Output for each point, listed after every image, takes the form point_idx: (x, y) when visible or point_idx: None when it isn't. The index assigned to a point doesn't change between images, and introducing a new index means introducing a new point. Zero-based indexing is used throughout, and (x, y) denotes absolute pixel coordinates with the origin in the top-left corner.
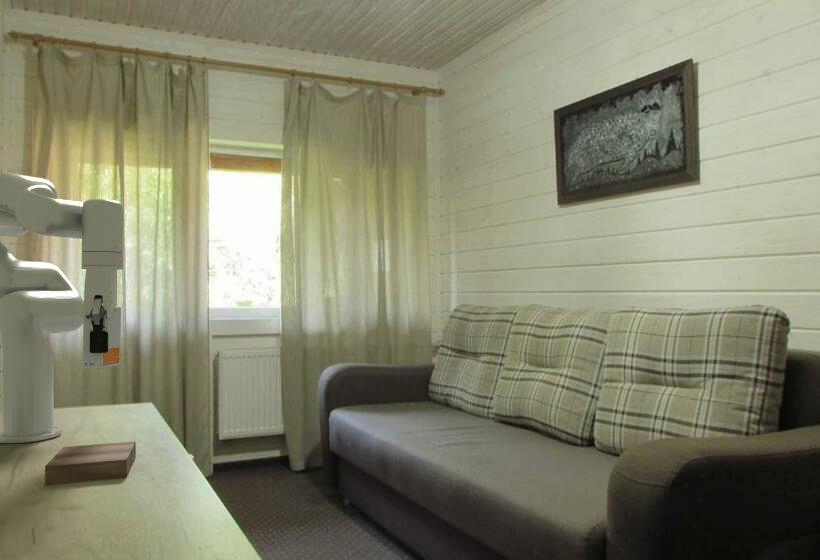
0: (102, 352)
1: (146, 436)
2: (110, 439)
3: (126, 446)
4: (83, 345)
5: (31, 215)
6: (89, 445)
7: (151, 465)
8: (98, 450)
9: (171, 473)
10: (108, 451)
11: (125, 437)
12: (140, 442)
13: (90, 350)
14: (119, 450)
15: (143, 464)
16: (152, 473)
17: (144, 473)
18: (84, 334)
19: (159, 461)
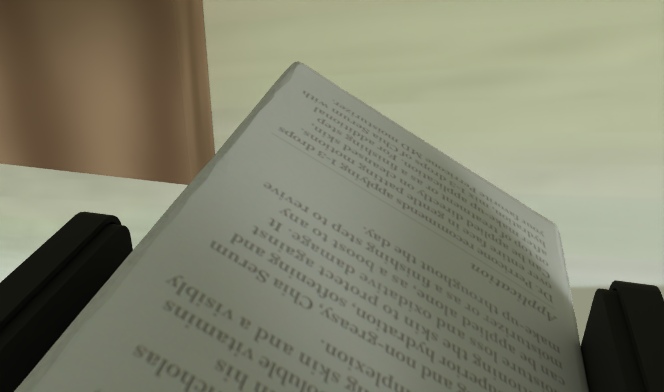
0: None
1: (616, 205)
2: (646, 51)
3: (111, 154)
4: (201, 174)
5: None
6: (161, 14)
7: (99, 199)
8: (63, 59)
9: (4, 240)
10: (42, 96)
11: (653, 119)
12: (488, 178)
13: (70, 228)
14: (51, 132)
15: (116, 178)
16: (9, 197)
17: (12, 177)
18: (105, 289)
19: (144, 223)
